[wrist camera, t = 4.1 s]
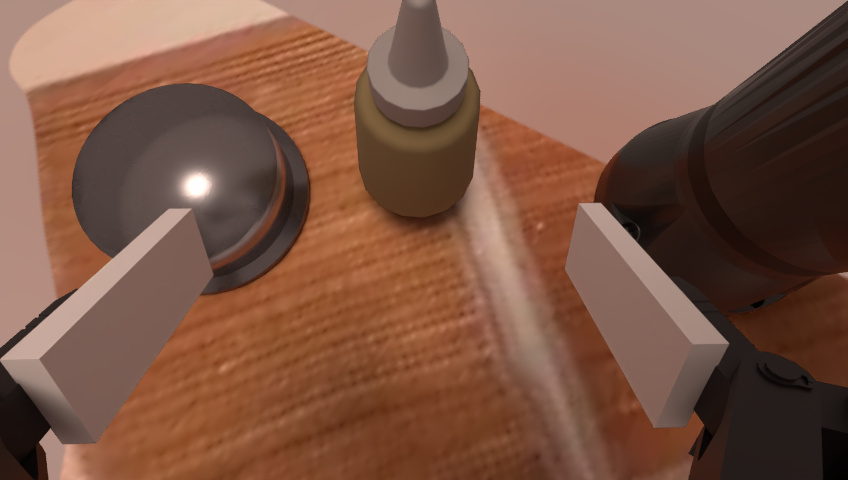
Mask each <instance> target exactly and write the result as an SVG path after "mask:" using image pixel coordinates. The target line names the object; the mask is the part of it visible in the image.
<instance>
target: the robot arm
mask: <svg viewBox="0 0 848 480" xmlns="http://www.w3.org/2000/svg"><path fill="white" fill-rule="evenodd" d="M565 271H566V272H567V274H568V276H569V278H570V279H571V281H572V283H573V285H574V287H575V288H576V290H577V292H578V294H579V295H580V297H581V299H582V301H583V303H584V304H585V306H586V308H587V310H588V311H589V313H590V315H591V317H592V318H593V320H594V322H595V324H596V326H597V327H598V329H599V331H600V333H601V334H602V336H603V338H604V340H605V342H606V343H607V345H608V347H609V349H610V350H611V352H612V354H613V356H614V358H615V359H616V361H617V363H618V365H619V366H620V368H621V370H622V372H623V374H624V375H625V377H626V379H627V381H628V382H629V384H630V386H631V388H632V390H633V391H634V393H635V395H636V397H637V398H638V400H639V402H640V404H641V406H642V407H643V409H644V411H645V413H646V414H647V416H648V418H649V420H650V422H651V423H652V425H653V427H654V428H674V427H686V425H687V423H688V422H689V420H690V418H691V416H692V414H693V412H694V411H695V412H696V413H697V415H698V416H699V418H700V419H701V421H702V422H703V424H704V427H703V428H702V430H701V432H700V434H699V436H698V437H697V439H696V441H695V443H694V445H693V446H692V448H691V450H690V452H689V454H690V455H692V456H694V458H693V462H692V466H691V471H690V475H689V479H688V480H848V388H846V387H841V386H837V385H832V384H827V383H822V382H818V381H815V379H814V378H813V377H812V376H811V375H810V374H809V373H808V372H807V371H806V370H804V369H803V368H802V367H800V366H799V365H797V364H796V363H794V362H792V361H790V360H788V359H786V358H784V357H782V356H779V355H776V354H772V353H768V352H761V351H758V350H757V349H756V348H755V347H754V345H753V344H752V343H751V342H750V341H749V340H748V339H747V338H746V337H745V336H744V335H743V334H742V333H741V332H740V331H739V330H738V329H737V328H736V327H735V326H734V325H733V324H732V323H731V322H730V321H729V320H728V319H727V318H726V317H725V316H729V315H738V314H744V313H749V312H752V311H756V310H759V309H762V308H764V307H767V306H769V305H771V304H773V303H775V302H776V301H778V300H780V299H781V298H783V297H784V296H786V295H787V294H789V293H792V292H794V291H796V290H798V289H800V288H802V287H803V286H805V285H807V284H809V283H811V282H812V281H814V280H816V279H818V278H820V277H821V276H824V275H830V274H836V273H843V272H848V1H847V2H845V3H844V4H843V5H842V6H840V7H839V8H838V9H837V10H835V11H834V12H833V13H831V14H830V15H829V16H827V17H826V18H825V19H824V20H822V21H821V22H820V23H818V25H816V26H815V27H813V28H812V29H811V30H810V31H808V32H807V33H806V34H805V35H803V36H802V37H801V38H799V39H798V40H797V41H795V42H794V43H793V44H792V45H790V46H789V47H788V48H786V49H785V50H784V51H783V52H782V53H780V54H779V55H778V56H776V57H775V58H774V59H772V60H771V61H770V62H769V63H767V64H766V65H765V66H763V67H762V68H761V69H760V70H758V71H757V72H756V73H754V74H753V75H752V76H751V77H749V78H748V79H747V80H745V81H744V82H743V83H741V84H740V85H739V86H737V87H736V88H735V89H734V90H732V91H731V92H730V93H729V94H727V95H726V96H725V97H723V98H722V99H721V100H719V101H718V102H717V103H716V104H715V105H712V106H709V107H706V108H703V109H700V110H697V111H694V112H691V113H688V114H685V115H683V116H680V117H677V118H673V119H670V120H666V121H663V122H660V123H657V124H655V125H653V126H651V127H649V128H647V129H645V130H644V131H642V132H641V133H639V134H638V135H636V136H635V137H634V138H633V139H631V140H630V141H629V142H628V143H627V144H626V145H625V146H624V147H623V148H622V149H621V150H619V151H618V152H617V153H616V154H615V155H614V156H613V158H612V159H611V160H610V161H609V163H608V164H607V166H606V167H605V169H604V171H603V173H602V175H601V177H600V180H599V183H598V186H597V190H596V195H595V203H579V205H578V209H577V214H576V219H575V223H574V228H573V233H572V237H571V242H570V247H569V251H568V256H567V261H566V265H565ZM212 277H213V272H212V269H211V266H210V263H209V259H208V256H207V253H206V250H205V247H204V244H203V241H202V238H201V235H200V232H199V229H198V226H197V222H196V219H195V216H194V213H193V210H192V208H189V209H168V210H167V211H166V212H165V213H164V214H162V215H161V216H160V217H159V218H158V219H157V220H156V221H155V222H153V223H152V224H151V225H150V226H149V227H148V228H147V229H146V230H144V231H143V232H142V233H141V234H140V235H139V236H138V237H137V238H135V239H134V240H133V241H132V242H131V243H130V244H129V245H128V246H126V247H125V248H124V249H123V250H122V251H121V252H120V253H119V254H117V255H116V256H115V257H114V258H113V259H112V260H111V261H110V262H109V263H107V264H106V265H105V266H104V267H103V268H102V269H101V270H100V271H98V272H97V273H96V274H95V275H94V276H93V277H92V278H91V279H89V280H88V281H87V282H86V283H85V284H84V285H83V286H82V287H80V288H79V289H75V290H73V291H72V292H70V293H68V294H66V295H65V296H63V297H61V298H59V299H57V300H56V301H54V302H53V303H52V304H51V305H50V306H49V307H47V308H46V309H45V310H44V311H43V312H42V313H41V314H39V317H38V318H35V319H33V320H32V321H31V322H30V323H29V324H28V325H26V328H25V329H22V330H21V331H20V332H18V333H17V334H16V335H15V336H14V337H13V338H11V339H10V340H9V341H8V342H7V343H6V344H5V345H3V346H2V347H1V348H0V480H48V472H47V463H46V453H45V451H44V449H43V448H42V446H41V445H40V443H39V441H40V440H41V439H42V438H43V437H44V435H45V434H46V433H47V432H48V430H49V429H50V428H51V429H52V431H53V432H54V433H55V435H56V436H57V437H58V439H59V440H60V441H61V443H62V444H89V443H97V442H98V440H99V439H100V437H101V436H102V434H103V433H104V432H105V430H106V429H107V427H108V426H109V424H110V423H111V422H112V420H113V419H114V417H115V416H116V414H117V413H118V412H119V410H120V409H121V407H122V406H123V404H124V403H125V401H126V400H127V399H128V397H129V396H130V394H131V393H132V391H133V390H134V389H135V387H136V386H137V384H138V383H139V381H140V380H141V379H142V377H143V376H144V374H145V373H146V371H147V370H148V369H149V367H150V366H151V364H152V363H153V361H154V360H155V358H156V357H157V356H158V354H159V353H160V351H161V350H162V348H163V347H164V346H165V344H166V343H167V341H168V340H169V338H170V337H171V336H172V334H173V333H174V331H175V330H176V328H177V327H178V326H179V324H180V323H181V321H182V320H183V318H184V317H185V316H186V314H187V313H188V311H189V310H190V308H191V307H192V305H193V304H194V303H195V301H196V300H197V298H198V297H199V295H200V294H201V293H202V291H203V290H204V288H205V287H206V285H207V284H208V283H209V281H210V280H211V278H212Z"/></svg>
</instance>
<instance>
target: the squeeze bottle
mask: <svg viewBox="0 0 848 480" xmlns="http://www.w3.org/2000/svg"><path fill="white" fill-rule="evenodd" d="M354 110H355V122H356V135H357V148H358V161H359V170H360V173H361V176H362V179H363V182H364V186H365V189H366V190H367V191H368V192H369V193H370V195H371V196H372V197H373V198H374V199H375V200H376V201H377V203H378V204H379V205H380V206H382V207H384V208H386V209H388V210H390V211H392V212H394V213H396V214H398V215H400V216H410V217H423V218H424V217H427V216H430V215H434V214H437V213H440V212H443V211H446V210H447V209H448V208H450V207H451V206H452V205H453V204H455V203H456V202H457V201H458V200H459V199H461V198H462V197H463V195H464V193H465V191H466V190H467V188H468V186H469V184H470V182H471V180H472V178H473V169H474V160H475V150H476V140H477V131H478V121H479V110H480V89H479V87H478V84H477V82H476V79H475V77H474V74H473V72H472V70H471V69H470V68H469V59H468V56H467V54H466V52H465V49H464V46H463V44H462V43H461V42H460V41H459V40H458V39H457V38H456V37H455V36H454V35H453V34H452V33H451V32H450V31H449V30H447V29H444V28H442V27H441V23H440V19H439V14H438V9H437V4H436V0H402V3H401V7H400V11H399V16H398V20H397V24H396V26H393V27H392V28H390V29H389V30H387V31H386V32H385V33H383V34H382V35H380V36H379V37H378V38H377V40H376V41H375V43H374V44H373V46H372V48H371V49H370V51H369V53H368V61H367V66H366V67H365V69H364V71H363V72H362V74H361V75H360V77H359V79H358V80H357V84H356V92H355V100H354Z"/></svg>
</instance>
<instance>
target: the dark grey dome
mask: <svg viewBox="0 0 848 480" xmlns="http://www.w3.org/2000/svg"><path fill="white" fill-rule="evenodd" d="M72 198H73V204H74V209H75V212H76V215H77V218H78V221H79V223H80V225H81V227H82V229H83V231H84V232H85V233H86V235H87V236H88V237H89V239H90V240H91V241H92V242H93V243H94V244H95V245H96V246H97V247H98V248H99V249H100V250H101V251H103V252H104V253H106V254H107V255H108V256H110V257H112V258H114V257H115V256H116V255H117V254H119V253H120V252H121V251H122V250H123V249H124V248H125V247H126V246H128V245H129V244H130V243H131V242H132V241H133V240H134V239H135V238H137V237H138V236H139V235H140V234H141V233H142V232H143V231H144V230H146V229H147V228H148V227H149V226H150V225H151V224H152V223H153V222H155V221H156V220H157V219H158V218H159V217H160V216H161V215H162V214H164V213H165V212H166V211H167V210H168V209H189V208H192V210H193V213H194V216H195V219H196V222H197V226H198V229H199V232H200V235H201V238H202V241H203V244H204V247H205V250H206V253H207V256H208V259H209V263H210V266H211V269H212V272H213V277H212V278H211V280H210V281H209V283H208V284H207V285H206V287H205V288H204V290H203V291H202V293H201V294H200V295H205V294H216V293H221V292H226V291H230V290H233V289H236V288H239V287H242V286H244V285H246V284H248V283H250V282H252V281H254V280H256V279H258V278H259V277H261V276H262V275H264V274H266V273H267V272H268V271H269V270H270V269H272V268H273V267H274V266H275V265H277V264H278V263H279V261H280V260H281V259H282V258H283V257H284V256H285V255H286V254H287V253H288V251H289V250H290V249H291V247H292V246H293V245H294V243H295V241H296V240H297V238H298V236H299V234H300V233H301V230H302V228H303V225H304V223H305V220H306V216H307V213H308V209H309V201H310V183H309V176H308V172H307V168H306V165H305V162H304V160H303V158H302V156H301V154H300V152H299V150H298V148H297V147H296V145H295V144H294V142H293V141H292V139H291V138H290V137H289V136H288V135H287V133H286V132H285V131H284V130H283V129H282V128H281V127H280V126H278V125H277V124H276V123H275V122H273V121H272V120H270V119H269V118H267V117H266V116H264V115H262V114H260V113H257V112H255V111H254V110H253V109H252V108H251V107H250V106H249V105H248V104H247V103H245V102H244V101H243V100H241V99H240V98H238V97H237V96H235V95H233V94H231V93H229V92H227V91H224V90H222V89H219V88H215V87H212V86H207V85H202V84H189V83H185V84H172V85H166V86H161V87H157V88H154V89H150V90H148V91H145V92H142V93H140V94H138V95H136V96H134V97H132V98H130V99H128V100H126V101H125V102H123V103H122V104H120V105H119V106H117V107H116V108H114V109H113V110H112V111H111V112H110V113H109V114H107V115H106V116H105V117H104V118H103V119H102V120H101V121H100V122H99V123H98V124H97V126H96V127H95V128H94V129H93V131H92V132H91V133H90V135H89V136H88V138H87V139H86V141H85V143H84V145H83V146H82V148H81V151H80V153H79V156H78V158H77V161H76V164H75V168H74V172H73V180H72Z"/></svg>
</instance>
